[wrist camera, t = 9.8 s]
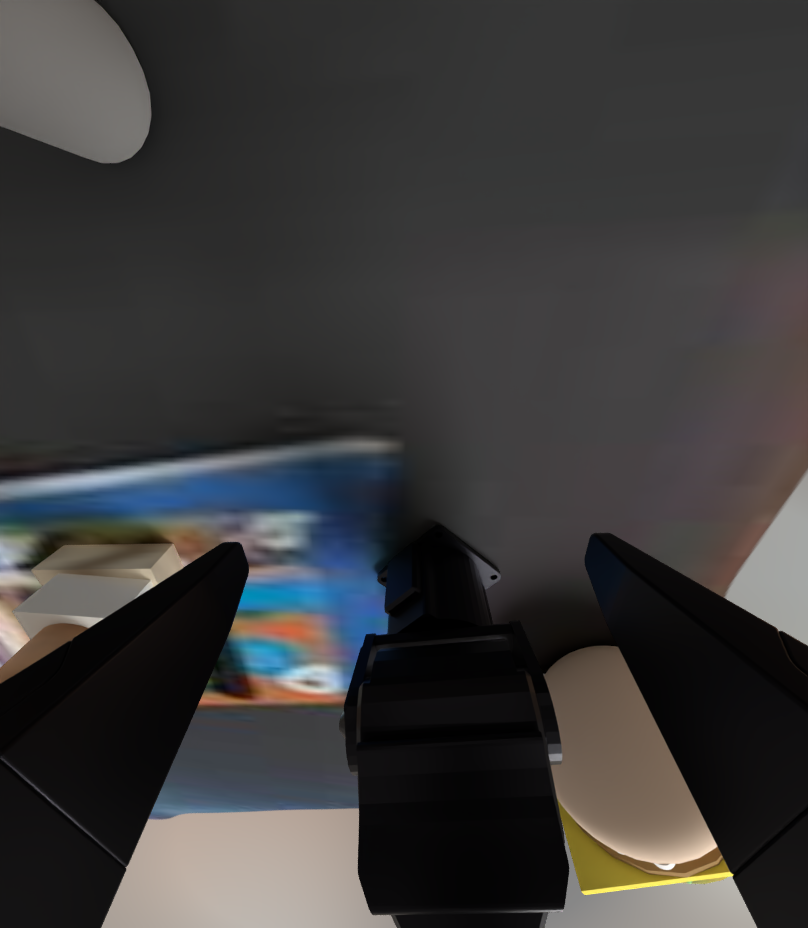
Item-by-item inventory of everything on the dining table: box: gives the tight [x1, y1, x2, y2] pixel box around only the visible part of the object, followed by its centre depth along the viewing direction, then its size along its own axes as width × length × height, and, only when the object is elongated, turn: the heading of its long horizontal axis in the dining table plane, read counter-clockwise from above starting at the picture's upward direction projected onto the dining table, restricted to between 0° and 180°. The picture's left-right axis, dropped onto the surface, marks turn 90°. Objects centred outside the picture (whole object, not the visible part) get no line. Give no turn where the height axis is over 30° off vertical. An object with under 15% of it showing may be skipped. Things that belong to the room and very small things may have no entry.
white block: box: [12, 573, 153, 640], centre depth 23 cm, size 6×6×3 cm
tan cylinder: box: [0, 623, 88, 683], centre depth 20 cm, size 5×5×5 cm
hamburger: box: [543, 646, 733, 895], centre depth 25 cm, size 12×8×12 cm
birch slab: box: [31, 543, 184, 587], centre depth 26 cm, size 8×8×3 cm
